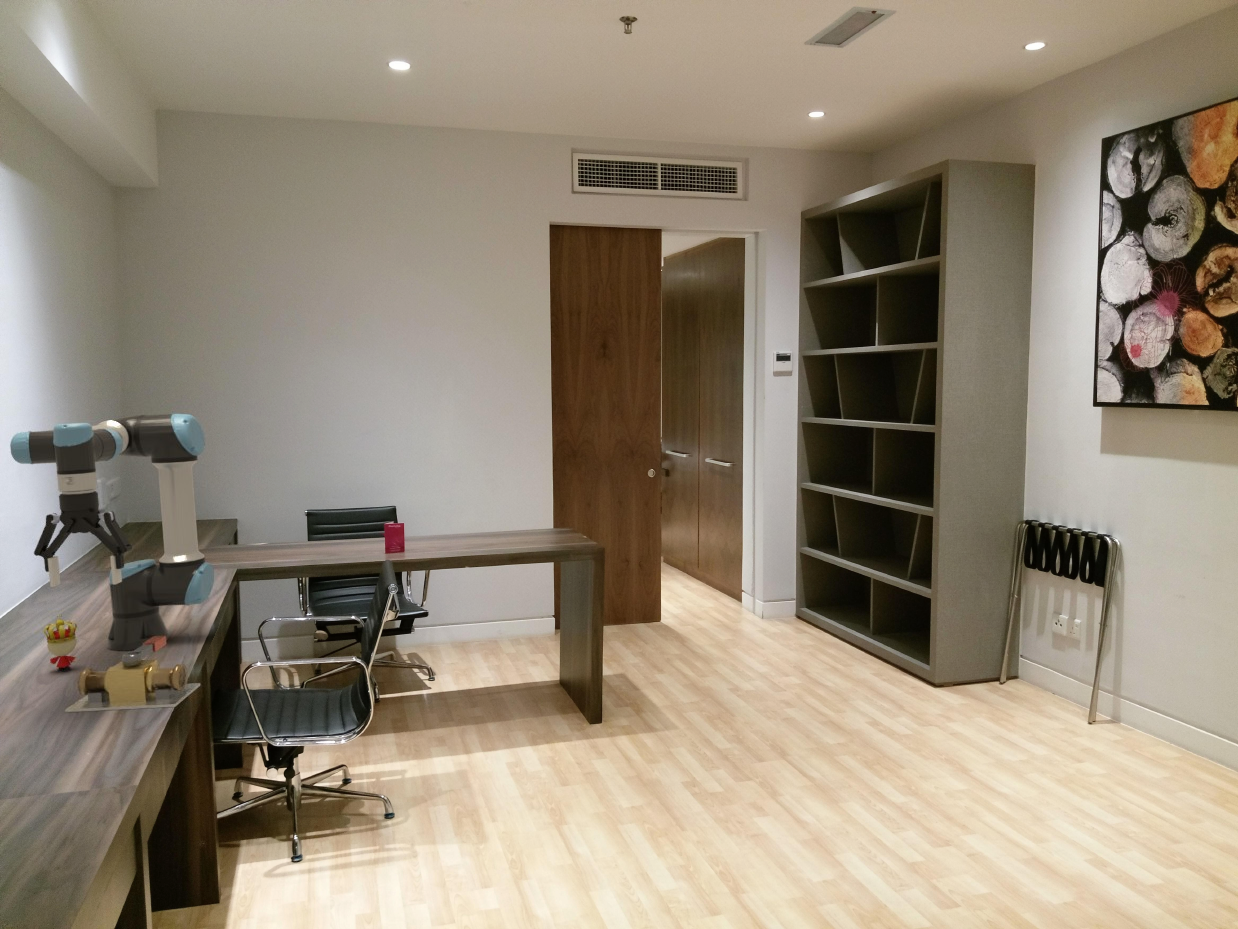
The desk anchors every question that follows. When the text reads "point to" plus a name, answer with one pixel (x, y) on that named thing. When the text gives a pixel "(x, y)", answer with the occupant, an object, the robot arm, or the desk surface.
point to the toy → (61, 643)
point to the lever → (143, 651)
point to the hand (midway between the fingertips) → (86, 584)
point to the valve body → (133, 687)
